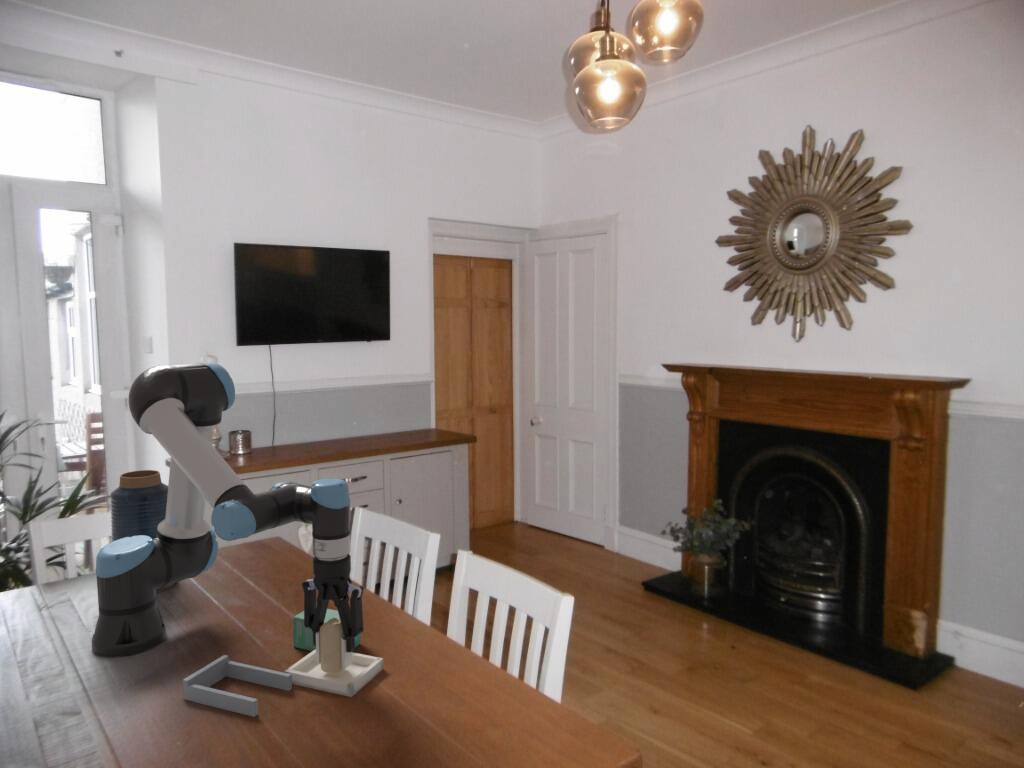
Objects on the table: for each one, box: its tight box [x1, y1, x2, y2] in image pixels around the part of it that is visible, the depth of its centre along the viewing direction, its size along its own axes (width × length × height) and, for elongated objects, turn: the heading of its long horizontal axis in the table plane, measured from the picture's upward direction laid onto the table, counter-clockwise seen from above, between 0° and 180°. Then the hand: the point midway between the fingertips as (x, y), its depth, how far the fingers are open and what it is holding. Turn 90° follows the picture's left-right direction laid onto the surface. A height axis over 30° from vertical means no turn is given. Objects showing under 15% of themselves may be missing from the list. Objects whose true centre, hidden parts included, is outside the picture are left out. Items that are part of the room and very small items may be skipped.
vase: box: [110, 469, 175, 594], centre depth 198 cm, size 16×16×32 cm
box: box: [293, 608, 362, 652], centre depth 164 cm, size 7×14×8 cm, turn 70°
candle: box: [320, 618, 344, 673], centre depth 150 cm, size 6×6×10 cm
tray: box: [283, 649, 384, 698], centre depth 150 cm, size 16×12×2 cm
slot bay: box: [182, 654, 293, 718], centre depth 143 cm, size 17×11×4 cm, turn 69°
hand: (334, 662), depth 150 cm, fingers closed on candle, 5 cm apart
